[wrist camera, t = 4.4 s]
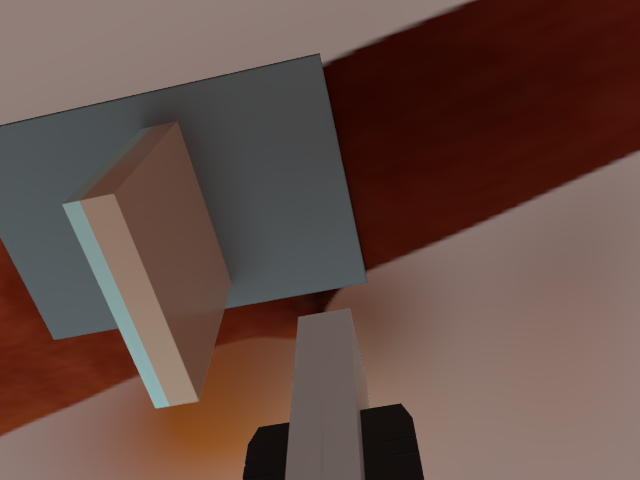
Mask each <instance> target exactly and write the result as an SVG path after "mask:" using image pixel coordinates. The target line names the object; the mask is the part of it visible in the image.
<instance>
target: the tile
mask: <svg viewBox="0 0 640 480" xmlns="http://www.w3.org/2000/svg"><path fill="white" fill-rule="evenodd" d="M62 205H63V207H64V209H65V212H66V214H67V216H68V218H69V220H70V223H71V225H72V227H73V229H74V231H75V233H76V236H77V238H78V240H79V242H80V244H81V247H82V249H83V251H84V253H85V255H86V258H87V260H88V262H89V264H90V266H91V268H92V271H93V273H94V275H95V277H96V279H97V282H98V284H99V286H100V288H101V290H102V293H103V295H104V297H105V299H106V301H107V303H108V306H109V308H110V310H111V312H112V314H113V317H114V319H115V321H116V323H117V325H118V328H119V330H120V332H121V334H122V336H123V338H124V341H125V343H126V345H127V347H128V349H129V352H130V354H131V356H132V358H133V360H134V362H135V365H136V367H137V369H138V371H139V373H140V376H141V378H142V380H143V382H144V384H145V386H146V389H147V391H148V393H149V395H150V397H151V400H152V402H153V404H154V406H155V408H161V407H167V406H173V405H179V404H186V403H192V402H198V401H199V399H200V395H201V392H202V388H203V385H204V381H205V378H206V374H207V370H208V367H209V363H210V359H211V356H212V352H213V349H214V345H215V342H216V338H217V334H218V331H219V327H220V324H221V320H222V316H223V313H224V309H225V306H226V302H227V298H228V295H229V291H230V288H231V284H232V282H231V279H230V276H229V273H228V270H227V267H226V264H225V261H224V258H223V255H222V252H221V249H220V246H219V243H218V240H217V237H216V234H215V231H214V228H213V225H212V223H211V220H210V217H209V214H208V211H207V208H206V205H205V202H204V199H203V196H202V193H201V190H200V187H199V184H198V181H197V178H196V175H195V172H194V169H193V166H192V163H191V160H190V157H189V154H188V151H187V148H186V145H185V142H184V139H183V136H182V133H181V130H180V127H179V124H178V121H175V122H170V123H166V124H161V125H157V126H152V127H148V128H143V129H140V130H139V131H138V132H137V133H136V134H135V135H134V136H133V137H132V138H131V139H130V140H129V141H128V142H127V143H126V144H125V145H124V146H123V147H122V148H121V149H120V150H118V151H117V152H116V153H115V154H114V155H113V156H112V157H111V158H110V159H109V160H108V161H107V162H106V163H105V164H104V165H103V166H102V167H101V168H100V169H99V170H98V171H97V172H95V173H94V174H93V175H92V176H91V177H90V178H89V179H88V180H87V181H86V182H85V183H84V184H83V185H82V186H81V187H80V188H79V189H78V190H77V191H76V192H75V193H74V194H72V195H71V196H70V197H69V198H68V199H67V200H66V201H65V202H64V203H63V204H62Z"/></svg>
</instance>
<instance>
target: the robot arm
mask: <svg viewBox="0 0 640 480" xmlns="http://www.w3.org/2000/svg"><path fill="white" fill-rule="evenodd" d="M243 480H424V476H423V470H422V465H421V460H420V454H419V450H418V444H417V439H416V434H415V429H414V424H413V418H412V417H411V416H410V414H409V413H408V412H407V410H406V409H405V408H404V407H403V406H402V404H396V405H388V406H382V407H376V408H369V400H368V390H367V381H366V377H365V373H364V368H363V364H362V359H361V355H360V351H359V346H358V342H357V337H356V333H355V329H354V324H353V320H352V316H351V311H350V308H347V309H342V310H336V311H330V312H325V313H319V314H313V315H308V316H302V317H298V328H297V340H296V352H295V365H294V376H293V390H292V401H291V414H290V422H289V423H283V424H276V425H270V426H263V427H259V428H258V430H257V431H256V433H255V435H254V436H253V438H252V439H251V441H250V442H249V444H248V449H247V455H246V461H245V467H244V473H243Z"/></svg>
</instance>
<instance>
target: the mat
mask: <svg viewBox="0 0 640 480" xmlns="http://www.w3.org/2000/svg"><path fill="white" fill-rule="evenodd" d="M175 121H178V124H179V127H180V130H181V133H182V136H183V139H184V142H185V145H186V148H187V151H188V154H189V157H190V160H191V163H192V166H193V169H194V172H195V175H196V178H197V181H198V184H199V187H200V190H201V193H202V196H203V199H204V202H205V205H206V208H207V211H208V214H209V217H210V220H211V223H212V225H213V228H214V231H215V234H216V237H217V240H218V243H219V246H220V249H221V252H222V255H223V258H224V261H225V264H226V267H227V270H228V273H229V276H230V279H231V282H232V284H231V288H230V291H229V295H228V298H227V302H226V306H225V309H226V308H232V307H237V306H243V305H248V304H254V303H259V302H265V301H270V300H276V299H281V298H287V297H292V296H297V295H303V294H308V293H314V292H319V291H325V290H330V289H336V288H341V287H347V286H352V285H357V284H363V283H367V278H366V273H365V268H364V263H363V258H362V254H361V249H360V244H359V239H358V235H357V230H356V225H355V220H354V215H353V211H352V206H351V201H350V196H349V192H348V187H347V182H346V177H345V173H344V168H343V163H342V158H341V153H340V149H339V144H338V139H337V134H336V130H335V125H334V120H333V115H332V110H331V106H330V101H329V96H328V91H327V87H326V82H325V77H324V72H323V67H322V63H321V58H320V54H314V55H309V56H305V57H301V58H296V59H292V60H287V61H283V62H279V63H274V64H270V65H265V66H261V67H256V68H252V69H247V70H243V71H239V72H234V73H230V74H225V75H221V76H216V77H212V78H208V79H203V80H199V81H195V82H190V83H186V84H181V85H177V86H173V87H168V88H163V89H159V90H155V91H150V92H146V93H141V94H137V95H132V96H129V97H124V98H119V99H115V100H110V101H106V102H102V103H97V104H93V105H88V106H84V107H79V108H75V109H70V110H66V111H62V112H57V113H53V114H49V115H44V116H39V117H35V118H31V119H26V120H22V121H17V122H13V123H9V124H5V125H0V238H1V240H2V242H3V244H4V245H5V247H6V249H7V251H8V253H9V255H10V257H11V259H12V261H13V263H14V264H15V266H16V268H17V270H18V272H19V274H20V276H21V278H22V280H23V282H24V283H25V285H26V287H27V289H28V291H29V293H30V295H31V297H32V299H33V301H34V303H35V304H36V306H37V308H38V310H39V312H40V314H41V316H42V318H43V320H44V322H45V323H46V325H47V327H48V329H49V331H50V333H51V335H52V337H53V339H54V340H57V339H62V338H68V337H73V336H79V335H84V334H90V333H95V332H101V331H106V330H112V329H117V328H118V325H117V323H116V321H115V319H114V317H113V314H112V312H111V310H110V308H109V306H108V303H107V301H106V299H105V297H104V295H103V293H102V290H101V288H100V286H99V284H98V282H97V279H96V277H95V275H94V273H93V271H92V268H91V266H90V264H89V262H88V260H87V258H86V255H85V253H84V251H83V249H82V247H81V244H80V242H79V240H78V238H77V236H76V233H75V231H74V229H73V227H72V225H71V223H70V220H69V218H68V216H67V214H66V212H65V209H64V207H63V205H62V204H63V203H64V202H65V201H66V200H67V199H68V198H69V197H70V196H71V195H72V194H74V193H75V192H76V191H77V190H78V189H79V188H80V187H81V186H82V185H83V184H84V183H85V182H86V181H87V180H88V179H89V178H90V177H91V176H92V175H93V174H94V173H95V172H97V171H98V170H99V169H100V168H101V167H102V166H103V165H104V164H105V163H106V162H107V161H108V160H109V159H110V158H111V157H112V156H113V155H114V154H115V153H116V152H117V151H118V150H120V149H121V148H122V147H123V146H124V145H125V144H126V143H127V142H128V141H129V140H130V139H131V138H132V137H133V136H134V135H135V134H136V133H137V132H138V131H139V130H140V129H143V128H148V127H152V126H157V125H161V124H166V123H170V122H175Z"/></svg>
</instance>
